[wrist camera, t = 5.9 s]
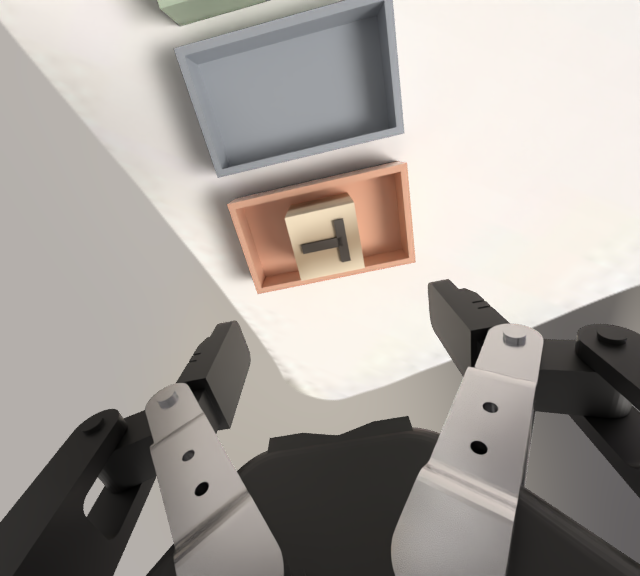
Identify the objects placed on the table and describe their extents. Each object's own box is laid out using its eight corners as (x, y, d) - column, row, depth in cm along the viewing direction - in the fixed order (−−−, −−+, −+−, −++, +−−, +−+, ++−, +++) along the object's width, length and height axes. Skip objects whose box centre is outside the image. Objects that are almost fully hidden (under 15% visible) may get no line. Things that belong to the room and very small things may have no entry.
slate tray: (191, 60, 22) (173, 48, 19) (381, 7, 21) (391, -13, 18) (228, 174, 25) (217, 177, 23) (394, 134, 24) (404, 133, 21)
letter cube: (290, 205, 26) (284, 218, 21) (347, 192, 26) (354, 202, 21) (304, 259, 28) (301, 281, 23) (357, 247, 28) (365, 269, 23)
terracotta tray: (236, 198, 26) (226, 204, 24) (397, 161, 25) (406, 162, 22) (263, 280, 30) (257, 294, 27) (406, 251, 28) (415, 262, 26)
